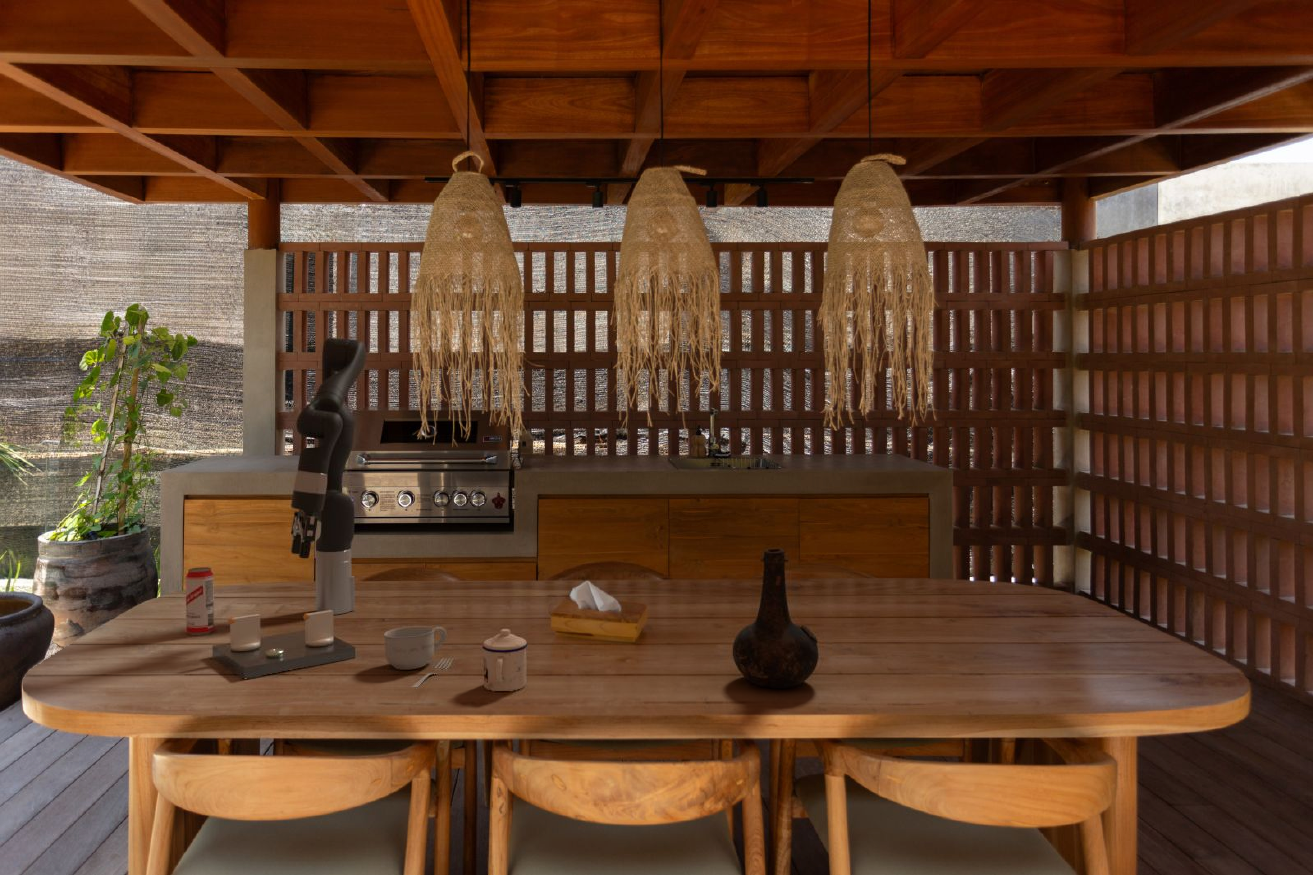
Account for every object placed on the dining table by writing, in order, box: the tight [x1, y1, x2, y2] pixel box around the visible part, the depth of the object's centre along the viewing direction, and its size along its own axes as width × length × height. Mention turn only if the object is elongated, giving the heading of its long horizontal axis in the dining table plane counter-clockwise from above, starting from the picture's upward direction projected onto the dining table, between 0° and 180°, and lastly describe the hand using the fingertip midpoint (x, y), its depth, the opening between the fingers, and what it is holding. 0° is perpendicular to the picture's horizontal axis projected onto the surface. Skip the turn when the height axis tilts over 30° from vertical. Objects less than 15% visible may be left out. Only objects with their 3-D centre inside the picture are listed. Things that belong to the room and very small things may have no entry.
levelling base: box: [211, 629, 356, 680], centre depth 203 cm, size 24×22×4 cm
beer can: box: [185, 566, 216, 636], centre depth 223 cm, size 6×6×16 cm
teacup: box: [383, 625, 448, 670], centre depth 198 cm, size 14×11×8 cm
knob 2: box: [302, 610, 335, 646], centre depth 205 cm, size 7×6×7 cm
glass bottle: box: [732, 548, 819, 689], centre depth 187 cm, size 18×18×28 cm
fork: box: [410, 657, 454, 688], centre depth 187 cm, size 3×24×2 cm, turn 169°
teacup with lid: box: [482, 628, 528, 692], centre depth 182 cm, size 12×9×12 cm
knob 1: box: [227, 613, 261, 651], centre depth 201 cm, size 7×6×7 cm
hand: (299, 555), depth 220 cm, fingers open, 8 cm apart
